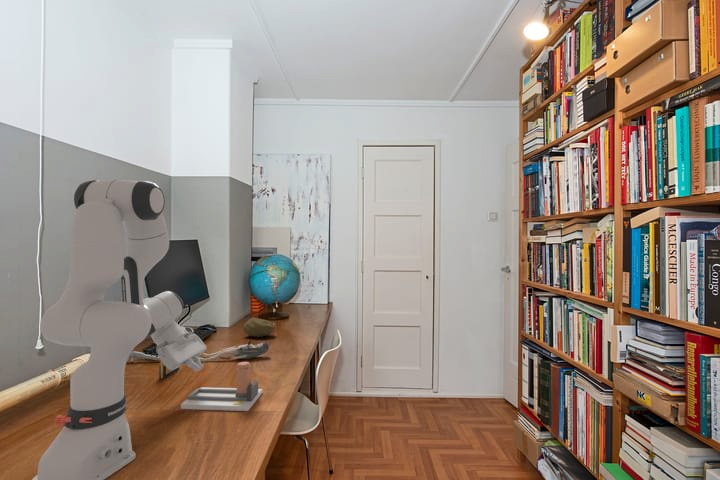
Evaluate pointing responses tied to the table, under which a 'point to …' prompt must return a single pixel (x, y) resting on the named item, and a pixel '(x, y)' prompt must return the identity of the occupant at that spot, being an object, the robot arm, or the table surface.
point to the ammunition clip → (165, 371)
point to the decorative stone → (258, 327)
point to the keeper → (243, 378)
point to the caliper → (141, 356)
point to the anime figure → (239, 351)
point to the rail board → (222, 399)
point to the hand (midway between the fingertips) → (200, 369)
